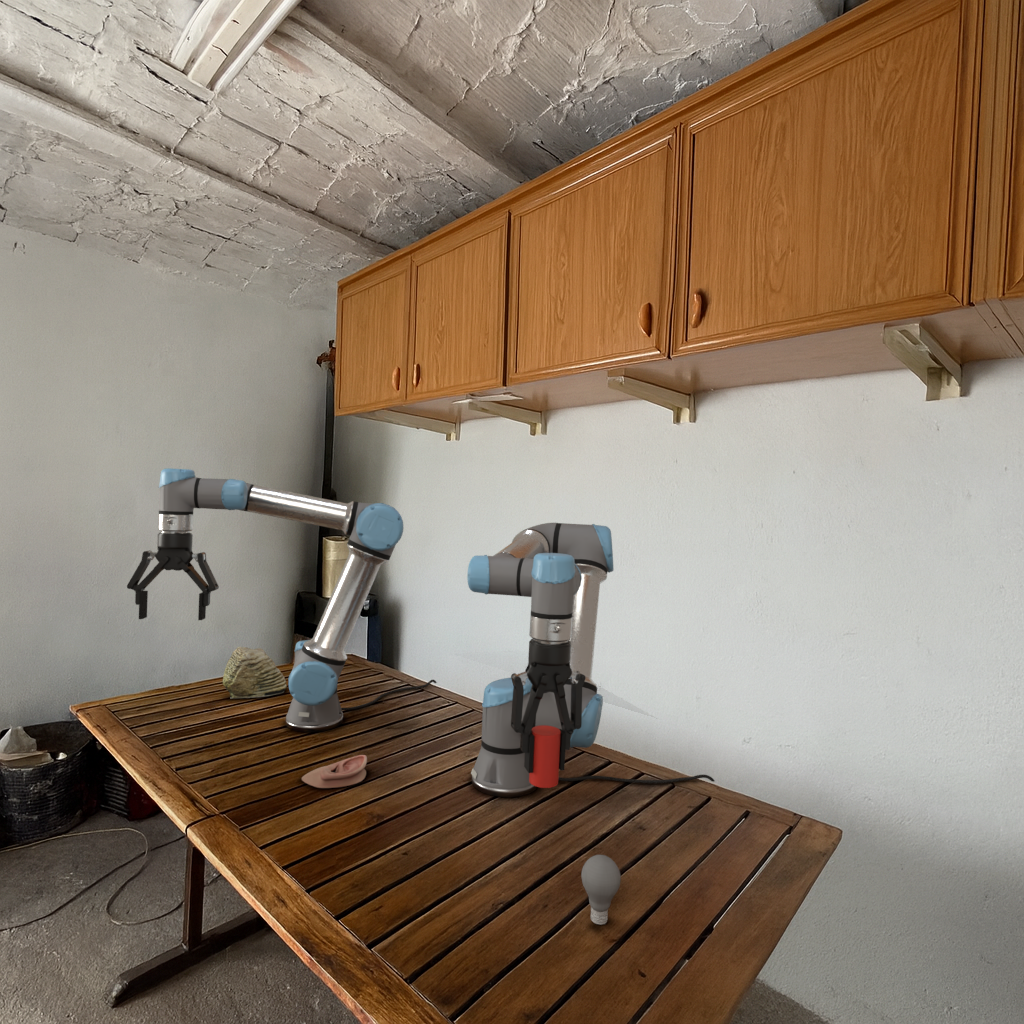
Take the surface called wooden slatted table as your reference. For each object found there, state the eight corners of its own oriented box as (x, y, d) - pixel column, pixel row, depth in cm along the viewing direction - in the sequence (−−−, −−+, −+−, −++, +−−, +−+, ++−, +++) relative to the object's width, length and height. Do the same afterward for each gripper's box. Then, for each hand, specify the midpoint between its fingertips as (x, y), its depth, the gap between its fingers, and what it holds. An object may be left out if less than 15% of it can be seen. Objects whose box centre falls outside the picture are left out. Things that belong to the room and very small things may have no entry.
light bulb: (576, 909, 100) (578, 846, 100) (613, 909, 101) (616, 846, 100) (583, 935, 94) (586, 869, 94) (622, 935, 95) (626, 868, 94)
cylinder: (563, 785, 113) (566, 733, 112) (538, 790, 110) (540, 737, 110) (548, 773, 117) (551, 723, 117) (524, 777, 115) (526, 727, 115)
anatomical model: (294, 766, 138) (320, 747, 150) (294, 784, 138) (320, 763, 150) (351, 774, 136) (373, 754, 147) (350, 792, 136) (372, 770, 147)
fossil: (218, 695, 195) (220, 647, 195) (278, 685, 208) (279, 640, 207) (228, 703, 189) (230, 653, 188) (289, 692, 201) (290, 645, 201)
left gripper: (112, 530, 149) (110, 620, 149) (224, 534, 152) (221, 622, 153) (127, 529, 156) (125, 614, 157) (233, 532, 160) (230, 616, 160)
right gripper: (506, 645, 107) (500, 781, 108) (605, 643, 112) (599, 773, 113) (495, 635, 115) (489, 763, 115) (589, 634, 120) (583, 756, 120)
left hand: (172, 618), depth 155 cm, fingers open, 13 cm apart
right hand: (544, 768), depth 114 cm, fingers closed on cylinder, 5 cm apart
